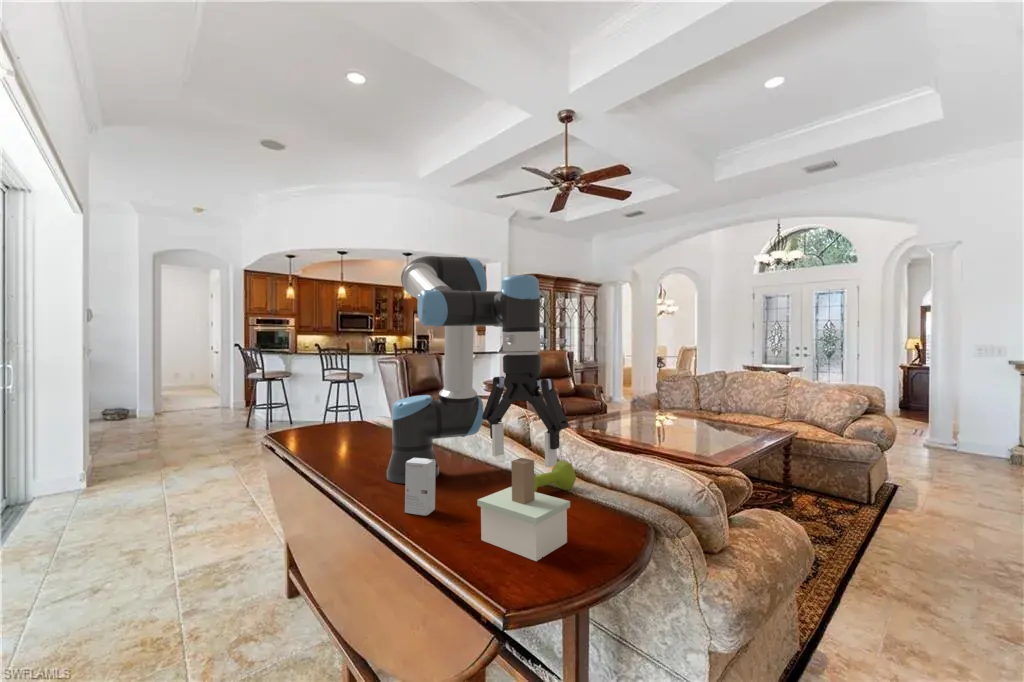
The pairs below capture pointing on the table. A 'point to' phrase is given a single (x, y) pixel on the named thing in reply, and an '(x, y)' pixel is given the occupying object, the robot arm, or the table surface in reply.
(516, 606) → the table surface
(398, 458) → the robot arm
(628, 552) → the table surface
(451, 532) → the table surface
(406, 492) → the skincare box
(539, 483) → the dumbbell
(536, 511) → the lid
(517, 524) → the box
